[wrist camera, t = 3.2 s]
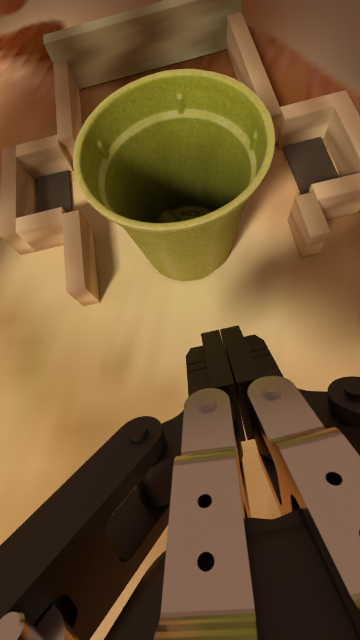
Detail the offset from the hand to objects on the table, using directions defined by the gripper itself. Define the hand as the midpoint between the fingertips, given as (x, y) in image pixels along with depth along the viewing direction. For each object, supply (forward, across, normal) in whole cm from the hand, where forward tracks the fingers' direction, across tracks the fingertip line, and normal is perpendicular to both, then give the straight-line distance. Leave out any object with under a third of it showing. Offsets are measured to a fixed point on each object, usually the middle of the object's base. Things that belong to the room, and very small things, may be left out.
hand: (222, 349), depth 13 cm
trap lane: (+18, 0, -8) cm, 19 cm away
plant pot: (+12, 0, -2) cm, 12 cm away
